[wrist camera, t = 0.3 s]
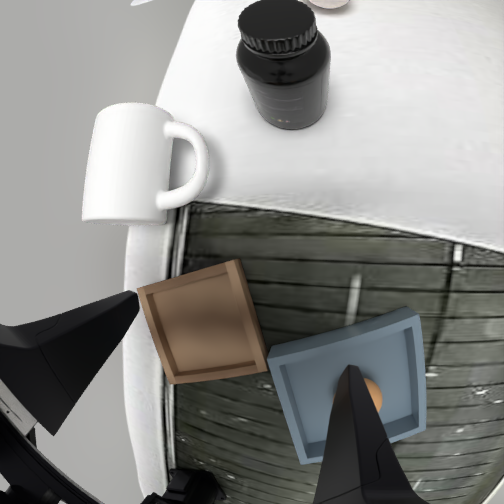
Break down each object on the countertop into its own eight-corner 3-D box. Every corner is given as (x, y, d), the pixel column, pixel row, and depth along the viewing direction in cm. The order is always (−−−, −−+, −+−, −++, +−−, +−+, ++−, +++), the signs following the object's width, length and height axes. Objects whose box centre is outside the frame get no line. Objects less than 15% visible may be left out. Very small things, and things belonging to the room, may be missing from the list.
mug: (117, 225, 27) (64, 221, 19) (126, 139, 27) (80, 115, 19) (220, 225, 25) (183, 216, 17) (226, 124, 25) (196, 83, 17)
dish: (416, 413, 21) (425, 429, 18) (302, 446, 24) (300, 464, 21) (406, 306, 22) (419, 314, 19) (271, 345, 24) (266, 359, 21)
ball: (378, 400, 22) (389, 425, 17) (335, 413, 23) (338, 440, 18) (373, 363, 22) (385, 385, 17) (327, 377, 23) (330, 402, 18)
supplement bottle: (266, 70, 24) (241, -14, 12) (332, 83, 23) (340, -4, 11) (247, 124, 24) (205, 47, 12) (318, 140, 23) (324, 61, 11)
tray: (270, 361, 24) (267, 370, 22) (179, 375, 26) (170, 384, 24) (240, 258, 25) (233, 259, 22) (148, 285, 26) (136, 288, 24)
